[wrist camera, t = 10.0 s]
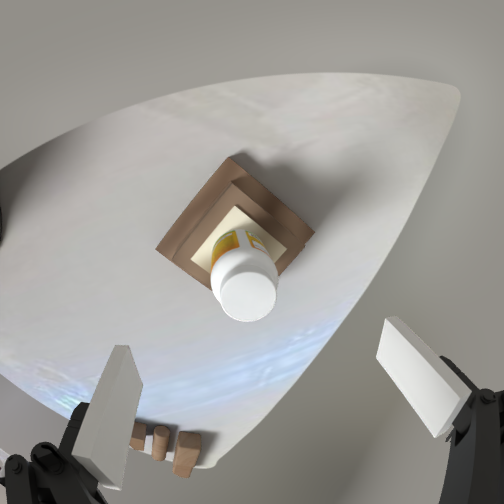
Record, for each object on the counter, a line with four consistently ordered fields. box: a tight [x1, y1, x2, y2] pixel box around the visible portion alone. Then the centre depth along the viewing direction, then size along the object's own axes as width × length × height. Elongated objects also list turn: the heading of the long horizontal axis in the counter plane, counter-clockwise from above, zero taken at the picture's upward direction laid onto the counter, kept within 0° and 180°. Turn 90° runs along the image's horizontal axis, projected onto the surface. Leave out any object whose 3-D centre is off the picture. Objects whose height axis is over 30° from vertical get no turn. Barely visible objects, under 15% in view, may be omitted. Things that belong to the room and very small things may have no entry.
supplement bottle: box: [211, 229, 278, 322], centre depth 24 cm, size 5×5×10 cm
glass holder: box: [0, 459, 6, 487], centre depth 48 cm, size 9×14×15 cm, turn 29°
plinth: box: [155, 157, 315, 291], centre depth 32 cm, size 14×14×7 cm
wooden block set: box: [129, 421, 201, 478], centre depth 45 cm, size 17×6×18 cm
